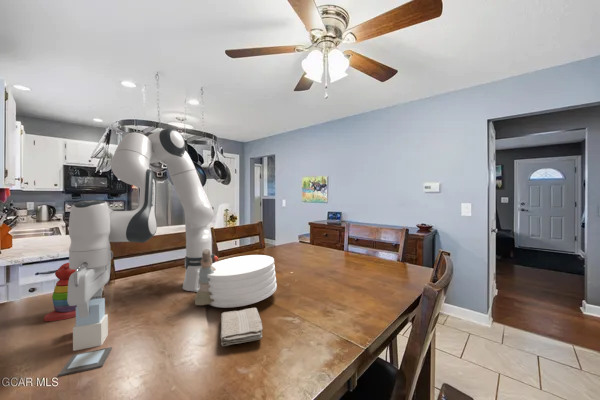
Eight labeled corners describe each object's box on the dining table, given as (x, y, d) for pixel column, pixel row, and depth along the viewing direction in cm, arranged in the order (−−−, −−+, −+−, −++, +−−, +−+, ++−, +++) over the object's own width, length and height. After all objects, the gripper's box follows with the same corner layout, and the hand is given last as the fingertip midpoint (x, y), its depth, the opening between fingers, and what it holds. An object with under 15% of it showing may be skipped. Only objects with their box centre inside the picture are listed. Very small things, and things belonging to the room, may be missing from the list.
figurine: (213, 306, 91) (207, 250, 90) (190, 307, 91) (185, 252, 91) (223, 295, 99) (218, 245, 99) (202, 296, 100) (197, 246, 99)
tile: (111, 348, 67) (111, 345, 67) (102, 366, 60) (102, 363, 60) (73, 356, 64) (73, 353, 64) (58, 376, 56) (58, 373, 56)
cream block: (108, 334, 74) (107, 314, 74) (101, 345, 69) (101, 323, 68) (82, 339, 72) (81, 318, 72) (73, 351, 66) (72, 328, 66)
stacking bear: (67, 307, 93) (67, 258, 93) (97, 306, 94) (96, 258, 94) (39, 321, 82) (39, 266, 82) (73, 320, 83) (72, 265, 83)
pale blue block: (104, 315, 73) (104, 297, 73) (99, 322, 69) (99, 304, 69) (83, 318, 71) (82, 300, 71) (75, 326, 67) (75, 307, 67)
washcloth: (220, 348, 67) (220, 337, 67) (220, 318, 85) (220, 309, 85) (265, 340, 71) (265, 329, 71) (256, 313, 88) (255, 304, 88)
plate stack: (196, 294, 105) (193, 267, 105) (255, 275, 123) (252, 252, 123) (224, 315, 84) (220, 281, 84) (290, 288, 102) (287, 260, 102)
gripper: (91, 267, 62) (92, 323, 62) (114, 251, 80) (114, 294, 81) (57, 270, 59) (58, 329, 59) (89, 252, 78) (90, 297, 78)
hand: (91, 309), depth 70 cm, fingers open, 8 cm apart
